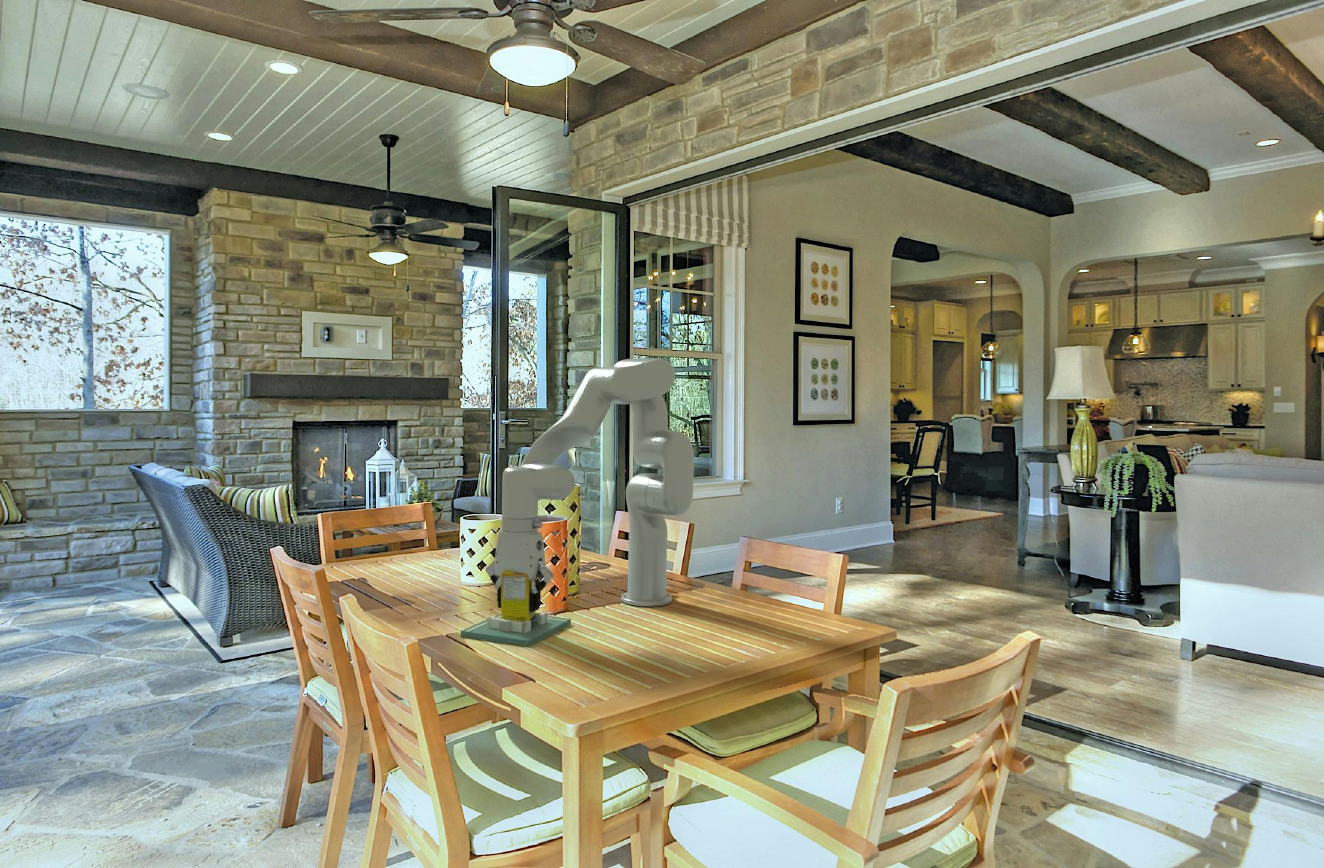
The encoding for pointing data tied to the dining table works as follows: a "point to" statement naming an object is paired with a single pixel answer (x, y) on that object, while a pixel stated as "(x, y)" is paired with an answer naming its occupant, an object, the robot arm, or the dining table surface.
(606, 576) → the dining table surface
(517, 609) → the supplement box
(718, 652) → the dining table surface
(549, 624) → the board
